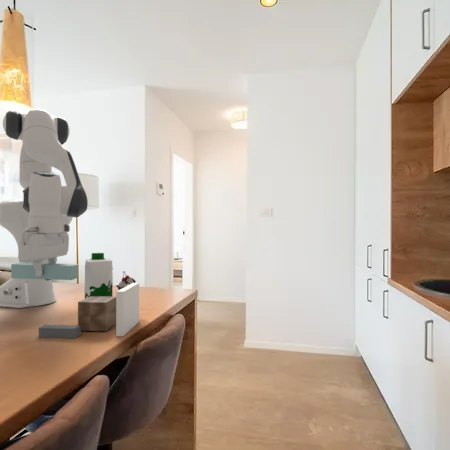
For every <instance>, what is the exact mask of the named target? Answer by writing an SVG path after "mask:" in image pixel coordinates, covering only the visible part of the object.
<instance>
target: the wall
mask: <svg viewBox="0 0 450 450" xmlns="http://www.w3.org/2000/svg"><path fill="white" fill-rule="evenodd" d="M115 292H116V294H115V297H116V324H115V337H124V336H125V335H126V334H128V333H129V332H130V331H131V330H132V329H133V328H134V327H135V326H136V325H137V324H138V323H139V322H140V282H135V283H132V284H130V285H128V286H126V287H124V288H122V289H120V290H118V289H117V290H116V291H115Z"/></svg>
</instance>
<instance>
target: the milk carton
mask: <svg viewBox="0 0 450 450" xmlns="http://www.w3.org/2000/svg"><path fill="white" fill-rule="evenodd" d="M113 268H114V267H113V260H112V259H110V258H105V253H104V252H92V253H91V258H88V259H85V263H84V299H86V298H88V297H90V296H109V297H113V286H114V285H113V278H114V277H113V273H114V272H113Z"/></svg>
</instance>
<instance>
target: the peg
mask: <svg viewBox="0 0 450 450" xmlns="http://www.w3.org/2000/svg"><path fill="white" fill-rule="evenodd" d="M41 265H42V268H43V269H44V275H42V276H36V275H35V268H34V266H33V263H19V262H17V263H11V268H10V269H11V271H10V273H11V274H10V279H11V278H21V279H52V281H53V280H54V281H55V280H61V281H62V280H63V281H73V280H76V279H79V263H56V264H51V263H42V264H41Z"/></svg>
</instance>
